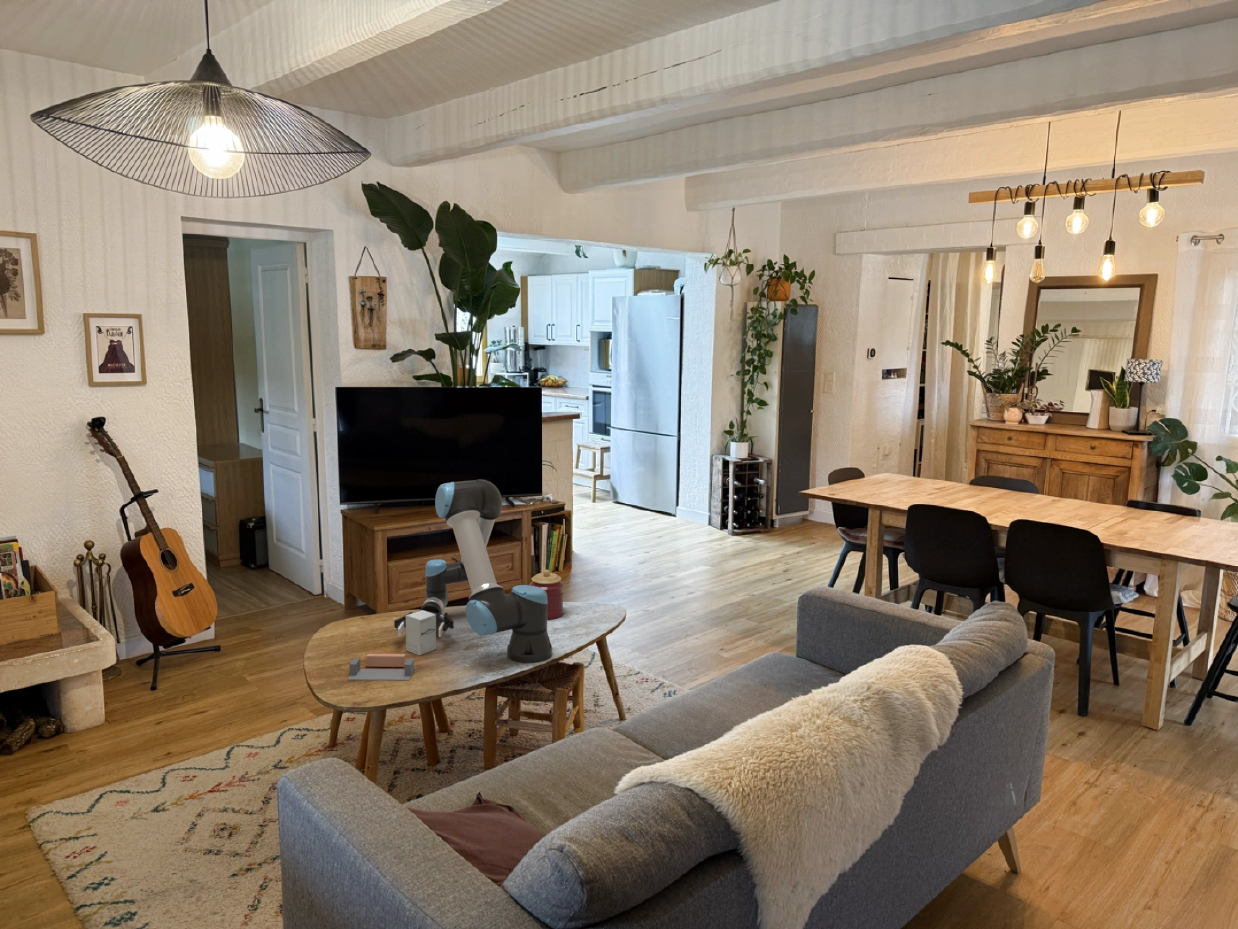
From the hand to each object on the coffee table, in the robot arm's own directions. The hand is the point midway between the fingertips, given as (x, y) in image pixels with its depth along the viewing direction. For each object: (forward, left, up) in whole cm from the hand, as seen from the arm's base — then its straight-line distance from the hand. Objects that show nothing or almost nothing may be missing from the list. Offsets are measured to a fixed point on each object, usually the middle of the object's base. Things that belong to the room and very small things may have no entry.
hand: (419, 632), depth 281 cm
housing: (-7, +19, -7) cm, 21 cm away
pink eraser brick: (-2, +14, -7) cm, 16 cm away
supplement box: (+1, -2, -7) cm, 8 cm away
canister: (-2, -56, -7) cm, 56 cm away
